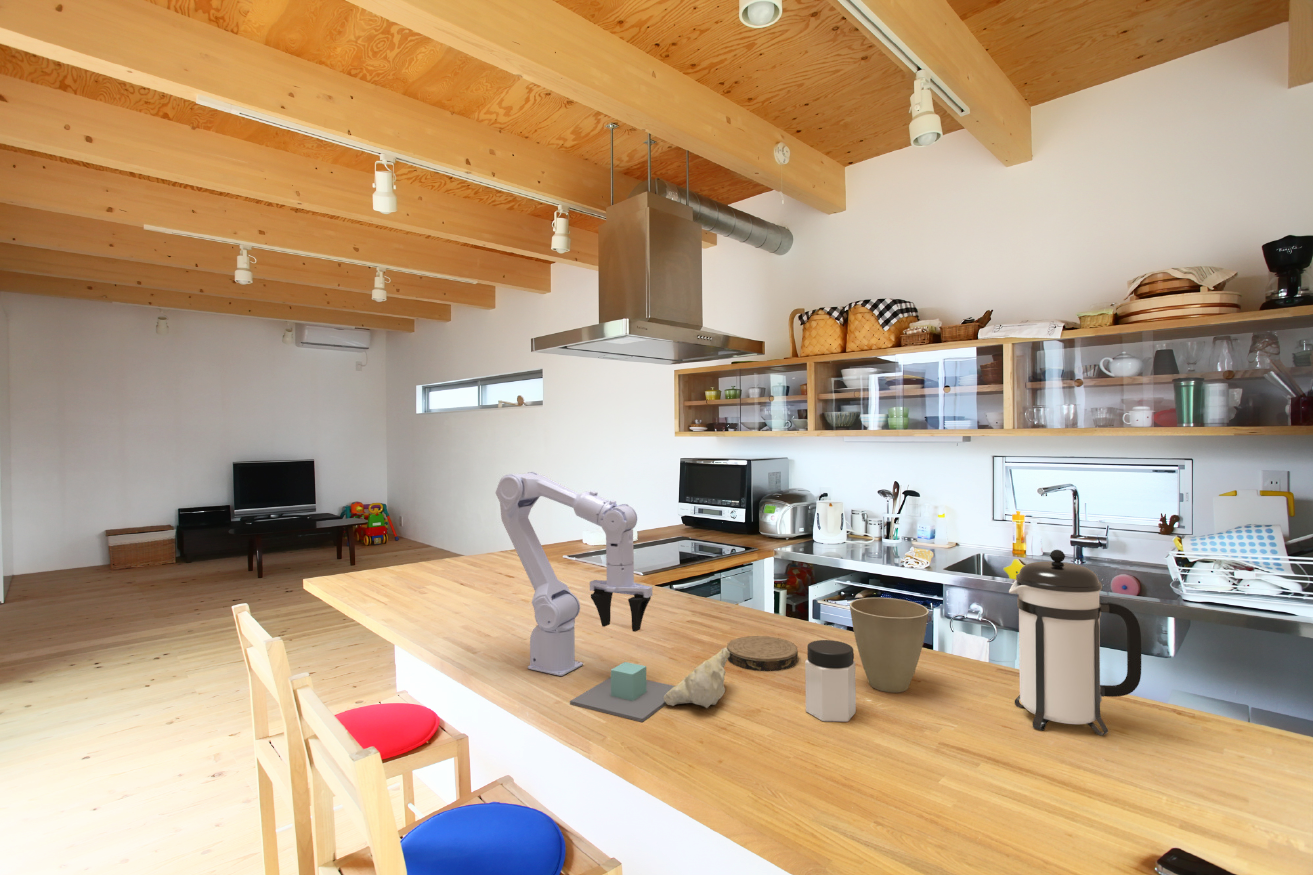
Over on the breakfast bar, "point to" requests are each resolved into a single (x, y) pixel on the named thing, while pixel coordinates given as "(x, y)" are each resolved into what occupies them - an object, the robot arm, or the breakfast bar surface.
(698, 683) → the conch shell
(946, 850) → the breakfast bar surface
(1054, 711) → the coffee press
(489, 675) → the breakfast bar surface
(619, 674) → the block
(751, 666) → the round wood slice
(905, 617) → the plant pot
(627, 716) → the mat
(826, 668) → the jar
